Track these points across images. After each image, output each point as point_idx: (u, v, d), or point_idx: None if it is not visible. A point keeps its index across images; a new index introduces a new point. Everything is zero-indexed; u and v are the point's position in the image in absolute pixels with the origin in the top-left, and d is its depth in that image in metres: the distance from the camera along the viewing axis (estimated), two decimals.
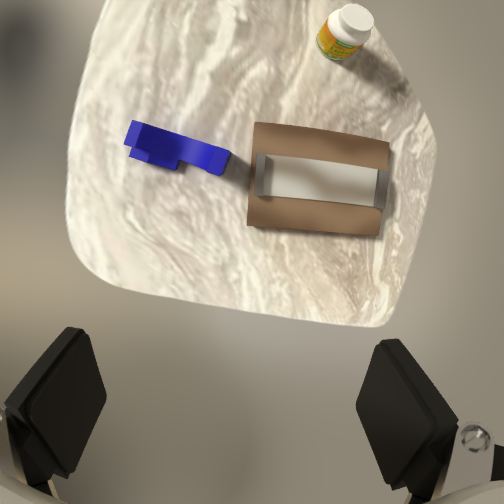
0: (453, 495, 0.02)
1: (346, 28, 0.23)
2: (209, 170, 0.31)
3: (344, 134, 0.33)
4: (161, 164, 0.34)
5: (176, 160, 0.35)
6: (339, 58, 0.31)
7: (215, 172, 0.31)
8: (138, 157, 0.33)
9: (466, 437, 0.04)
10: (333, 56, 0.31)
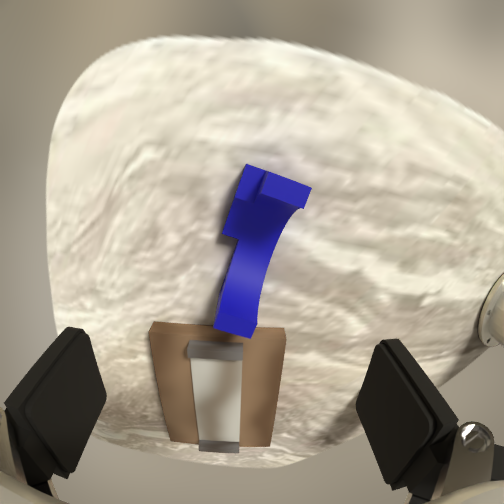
0: (453, 495, 0.02)
1: None
2: (220, 315, 0.21)
3: (273, 416, 0.30)
4: (231, 215, 0.23)
5: (237, 236, 0.24)
6: None
7: (218, 322, 0.21)
8: (243, 181, 0.21)
9: (466, 437, 0.04)
10: None
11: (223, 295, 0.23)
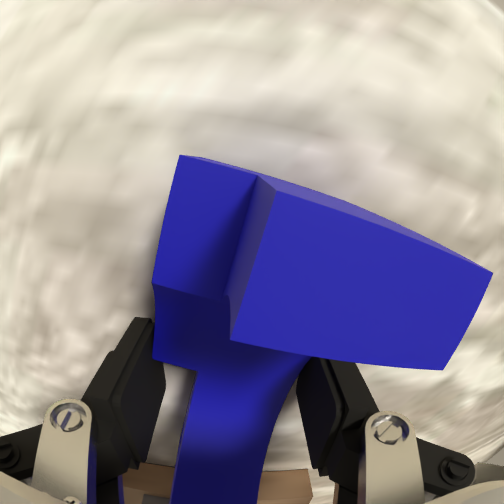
0: (453, 495, 0.02)
1: None
2: None
3: None
4: (162, 320, 0.07)
5: (191, 366, 0.08)
6: None
7: None
8: (175, 225, 0.05)
9: (378, 430, 0.05)
10: None
11: (175, 491, 0.07)
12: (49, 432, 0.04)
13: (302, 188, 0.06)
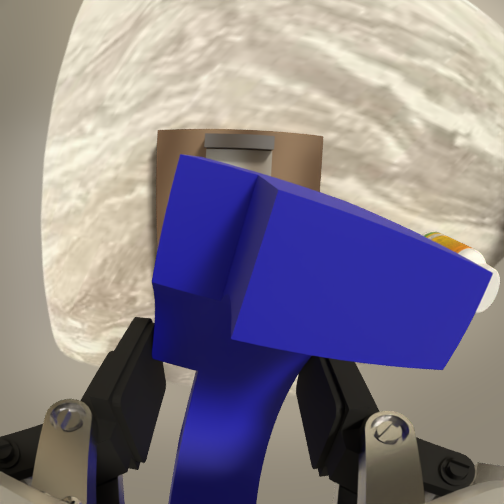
0: (453, 495, 0.02)
1: None
2: None
3: None
4: (162, 320, 0.07)
5: (191, 365, 0.08)
6: None
7: None
8: (176, 224, 0.05)
9: (378, 430, 0.05)
10: None
11: (174, 491, 0.07)
12: (49, 432, 0.04)
13: (302, 188, 0.06)
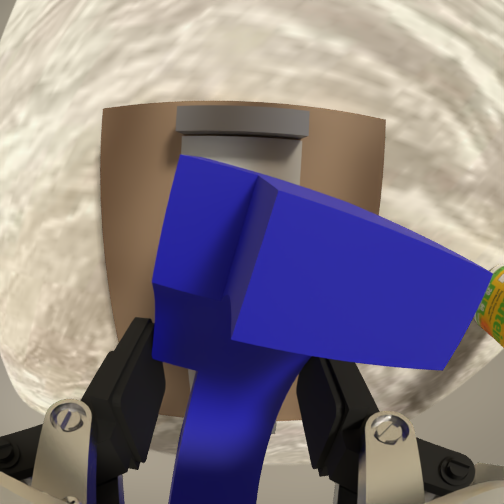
0: (453, 495, 0.02)
1: None
2: None
3: None
4: (162, 320, 0.07)
5: (191, 365, 0.08)
6: (480, 308, 0.16)
7: None
8: (176, 225, 0.05)
9: (378, 430, 0.05)
10: (486, 298, 0.15)
11: (174, 491, 0.07)
12: (49, 432, 0.04)
13: (302, 188, 0.06)
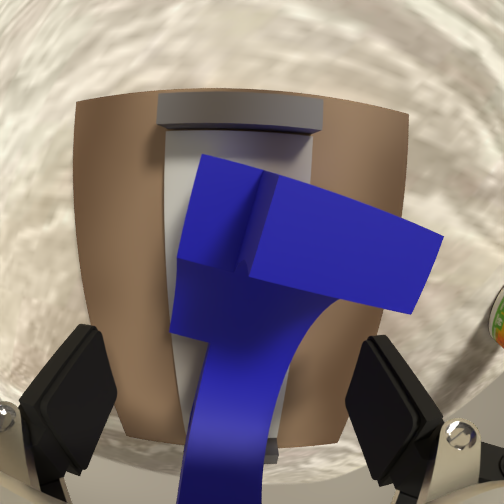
0: (453, 495, 0.02)
1: None
2: None
3: None
4: (181, 295, 0.09)
5: (204, 338, 0.10)
6: (497, 322, 0.14)
7: None
8: (198, 209, 0.07)
9: (451, 434, 0.04)
10: None
11: (187, 460, 0.08)
12: None
13: None
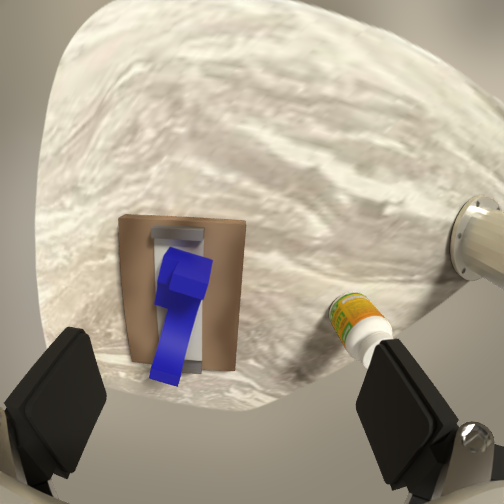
0: (453, 495, 0.02)
1: (365, 342, 0.25)
2: (152, 370, 0.26)
3: (236, 326, 0.32)
4: (158, 291, 0.28)
5: (165, 307, 0.28)
6: (331, 317, 0.33)
7: (152, 375, 0.26)
8: (162, 269, 0.26)
9: (466, 437, 0.04)
10: (333, 312, 0.33)
11: (156, 353, 0.27)
12: None
13: (190, 262, 0.26)
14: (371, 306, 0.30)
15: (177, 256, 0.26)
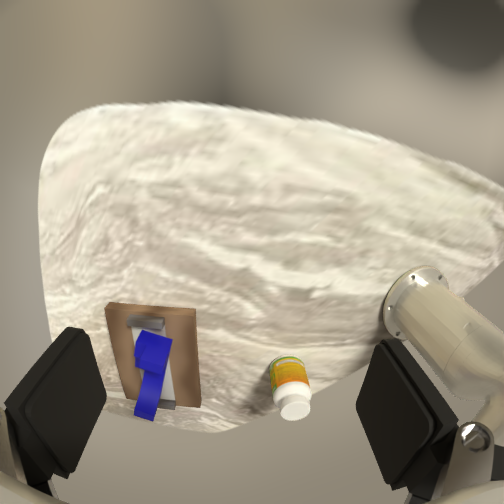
0: (453, 495, 0.02)
1: (283, 402, 0.34)
2: (135, 410, 0.35)
3: (196, 379, 0.40)
4: (136, 360, 0.37)
5: (143, 368, 0.38)
6: None
7: (135, 413, 0.35)
8: (136, 349, 0.35)
9: (466, 437, 0.04)
10: (270, 370, 0.41)
11: (138, 398, 0.36)
12: None
13: (154, 345, 0.35)
14: (296, 371, 0.38)
15: (146, 340, 0.35)
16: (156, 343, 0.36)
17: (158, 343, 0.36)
